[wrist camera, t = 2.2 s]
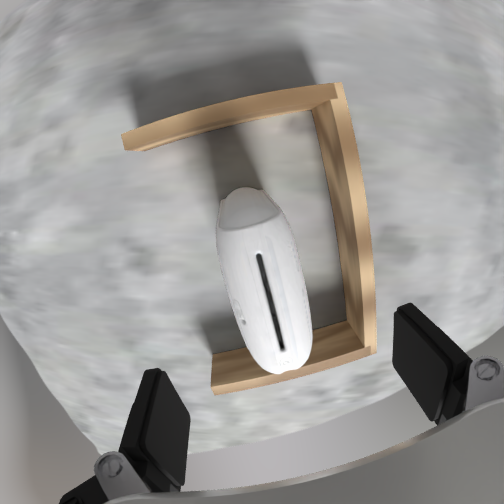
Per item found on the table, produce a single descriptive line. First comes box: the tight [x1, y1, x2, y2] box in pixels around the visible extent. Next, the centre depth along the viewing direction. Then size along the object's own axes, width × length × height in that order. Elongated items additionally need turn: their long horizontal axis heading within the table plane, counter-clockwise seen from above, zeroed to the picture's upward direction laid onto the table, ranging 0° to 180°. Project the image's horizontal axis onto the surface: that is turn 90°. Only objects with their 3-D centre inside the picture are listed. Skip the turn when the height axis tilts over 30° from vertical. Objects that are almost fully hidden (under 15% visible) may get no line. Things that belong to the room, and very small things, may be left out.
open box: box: [121, 82, 376, 395], centre depth 23 cm, size 23×16×5 cm
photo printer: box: [216, 187, 313, 374], centre depth 20 cm, size 10×4×12 cm, turn 14°
